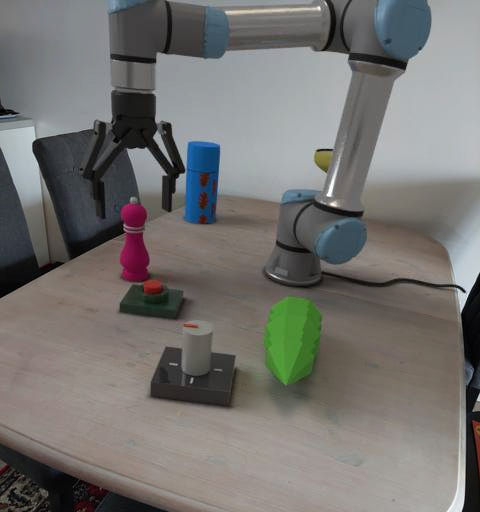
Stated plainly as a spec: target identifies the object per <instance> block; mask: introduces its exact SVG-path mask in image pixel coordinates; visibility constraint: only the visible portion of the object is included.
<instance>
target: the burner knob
mask: <svg viewBox="0 0 480 512" xmlns="http://www.w3.org/2000/svg"><path fill="white" fill-rule="evenodd" d="M213 338H214V326H213V324H211V323H210V322H208V321H205V320H201V319H193V320H189V321H186V322H184V323H183V324H182V337H181V348H182V359H181V369H182V371H183V372H185V373H186V374H188V375H192V376H201V375H204V374H206V373H208V372H209V370H210V365H211V352H212V350H213Z"/></svg>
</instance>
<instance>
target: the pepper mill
mask: <svg viewBox="0 0 480 512" xmlns="http://www.w3.org/2000/svg"><path fill="white" fill-rule="evenodd" d="M138 202H139V200H138V198H137V197H135V196H132V197H130V199H129V203H127V204H126V205H124V206H122V208H121V211H120V217H121V220H122V221H123V231H124V232H125V240H124V241H125V242H124V245H123V248H122V250H121V252H120V255H119V264H120V265H121V267H123V268H122V269H121V276H122V279H124V280H126V281H129V282H141V281H146V279H147V278H148V277H149V271H148V268H147V267H148V266H149V265H150V263H151V261H150V260H151V259H150V253H149V252H148V249H147V247H146V244H145V242H144V241H145V240H144V232H145V231H146V228H145V227H146V224H145V222H146V221H147V219H148V211H147V209H146V208H145V206H143V205H142V204H140V203H138Z"/></svg>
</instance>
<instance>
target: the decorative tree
mask: <svg viewBox="0 0 480 512" xmlns="http://www.w3.org/2000/svg"><path fill="white" fill-rule="evenodd" d="M322 321H323V315H322V314H321V312H320V310H319V309H318V307H316V305H315V304H314V303H313V302H312V300H311V299H307V298H301V297H296V296H295V297H294V296H289V295H288V296H286V297H285V298H284V299H281V300H280V301H278V303H276V304H274V305H273V306H271V307H270V313H269V315H268V320H267V323H266V324H265V329H264V337H263V343H262V346H263V347H264V348H265V349H266V357H265V363H264V365H265V367H266V368H267V369H268V371H270V372H271V374H272V376H273V377H275V379H276V380H278V381H279V382H280V383H282V384H283V385H284V386H288V385H291V384H294V383H296V382H298V381H300V380H301V379H303V378H305V377H307V376H308V375H311V373H312V369H313V366H314V362H315V361H314V360H315V357H316V356H318V354H319V349H320V344H321V338H322V333H321V332H322V328H323V323H322Z"/></svg>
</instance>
